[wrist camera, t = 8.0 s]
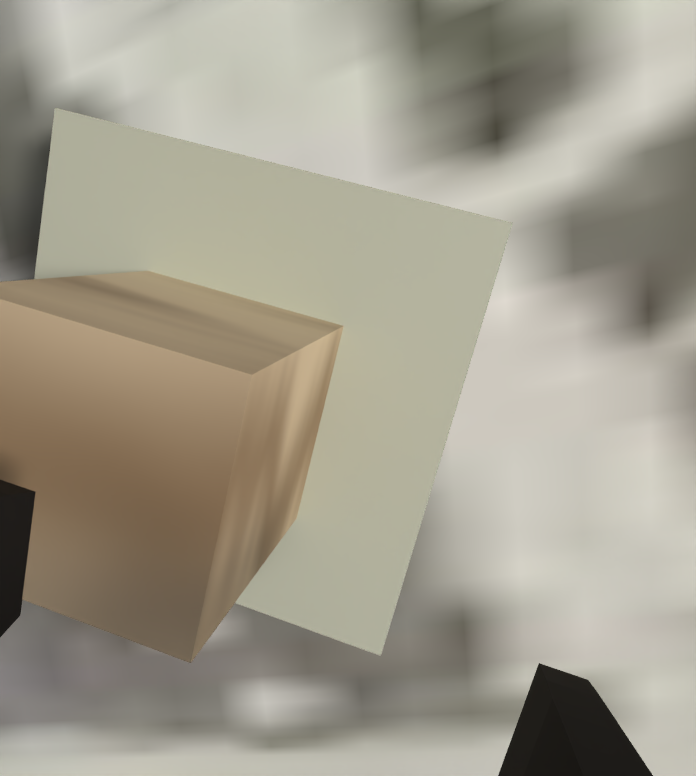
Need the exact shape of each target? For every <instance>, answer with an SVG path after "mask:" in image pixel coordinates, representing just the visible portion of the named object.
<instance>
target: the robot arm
mask: <svg viewBox="0 0 696 776" xmlns="http://www.w3.org/2000/svg"><path fill="white" fill-rule="evenodd" d="M35 493H36V492H35V491H32V490H29V489H27V488H24V487H21V486H18V485H15V484H12V483H9V482H6V481H3V480H0V637H1V636H2V635H3V634H4V632H5V631H6V630H7V629H8V628H9V627H10V626H11V625H12V624H13V623H14V622H15V620H16V619H17V618H18V617H19V616H20V613H21V605H22V597H23V589H24V581H25V573H26V565H27V557H28V549H29V541H30V533H31V525H32V517H33V509H34V501H35ZM498 776H653V775H652V773H651V772H650V771H649V769H648V768H647V766H646V765H645V763H644V762H643V760H642V759H641V757H640V756H639V754H638V753H637V751H636V750H635V748H634V747H633V745H632V744H631V742H630V741H629V739H628V738H627V736H626V735H625V733H624V732H623V730H622V729H621V727H620V726H619V724H618V723H617V721H616V720H615V718H614V717H613V715H612V714H611V712H610V711H609V709H608V708H607V706H606V705H605V703H604V702H603V700H602V699H601V697H600V696H599V694H598V693H597V691H596V690H595V689H594V687H593V686H592V685H591V683H590V682H589V681H588V680H586V679H584V678H581V677H578V676H575V675H572V674H569V673H566V672H563V671H560V670H557V669H554V668H551V667H548V666H545V665H542V664H540V663H539V665H538V668H537V670H536V673H535V676H534V679H533V681H532V684H531V687H530V690H529V692H528V695H527V698H526V701H525V703H524V706H523V709H522V712H521V715H520V717H519V720H518V723H517V726H516V728H515V731H514V734H513V737H512V739H511V742H510V745H509V748H508V750H507V753H506V756H505V759H504V761H503V764H502V767H501V770H500V772H499V775H498Z"/></svg>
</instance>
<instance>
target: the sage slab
mask: <svg viewBox="0 0 696 776" xmlns="http://www.w3.org/2000/svg"><path fill="white" fill-rule="evenodd" d="M511 227H512V223H511V222H507V221H503V220H499V219H495V218H491V217H487V216H483V215H479V214H475V213H471V212H467V211H463V210H459V209H455V208H451V207H447V206H443V205H439V204H435V203H431V202H427V201H423V200H419V199H415V198H411V197H407V196H403V195H399V194H395V193H391V192H387V191H383V190H379V189H376V188H372V187H368V186H364V185H360V184H356V183H352V182H348V181H344V180H340V179H336V178H332V177H328V176H324V175H320V174H316V173H312V172H308V171H304V170H300V169H296V168H292V167H288V166H284V165H280V164H276V163H272V162H268V161H264V160H260V159H256V158H252V157H248V156H244V155H240V154H236V153H232V152H228V151H224V150H220V149H217V148H213V147H209V146H205V145H201V144H197V143H193V142H189V141H185V140H181V139H177V138H173V137H169V136H165V135H161V134H157V133H153V132H149V131H145V130H141V129H137V128H133V127H129V126H125V125H121V124H117V123H113V122H109V121H105V120H101V119H97V118H93V117H89V116H85V115H81V114H77V113H73V112H69V111H65V110H61V109H58V108H55V113H54V121H53V129H52V137H51V145H50V154H49V162H48V170H47V178H46V186H45V194H44V203H43V211H42V219H41V227H40V235H39V243H38V252H37V260H36V268H35V276H34V279H45V278H58V277H71V276H85V275H98V274H111V273H125V272H138V271H151V272H154V273H158V274H161V275H165V276H169V277H172V278H176V279H179V280H183V281H186V282H190V283H193V284H197V285H200V286H204V287H207V288H211V289H215V290H218V291H222V292H225V293H229V294H232V295H236V296H239V297H243V298H246V299H250V300H254V301H257V302H261V303H264V304H268V305H271V306H275V307H278V308H282V309H285V310H289V311H293V312H296V313H300V314H303V315H307V316H310V317H314V318H317V319H321V320H324V321H328V322H332V323H335V324H339V325H342V326H344V327H343V331H342V335H341V339H340V343H339V347H338V351H337V355H336V360H335V364H334V368H333V372H332V376H331V380H330V384H329V388H328V392H327V396H326V400H325V404H324V409H323V413H322V417H321V421H320V425H319V429H318V433H317V437H316V441H315V445H314V449H313V453H312V457H311V462H310V466H309V470H308V474H307V478H306V482H305V486H304V490H303V494H302V498H301V502H300V506H299V510H298V515H297V518H296V520H295V521H294V523H293V524H292V525H291V527H290V528H289V529H288V531H287V532H286V534H285V535H284V536H283V538H282V539H281V540H280V542H279V543H278V544H277V546H276V547H275V549H274V550H273V551H272V553H271V554H270V555H269V557H268V558H267V560H266V561H265V562H264V564H263V565H262V566H261V568H260V569H259V570H258V572H257V573H256V575H255V576H254V577H253V579H252V580H251V581H250V583H249V584H248V586H247V587H246V588H245V590H244V591H243V592H242V594H241V595H240V596H239V598H238V599H237V601H236V602H235V603H237V604H239V605H242V606H245V607H248V608H250V609H253V610H256V611H259V612H261V613H264V614H267V615H270V616H273V617H275V618H278V619H281V620H284V621H286V622H289V623H292V624H295V625H297V626H300V627H303V628H306V629H308V630H311V631H314V632H317V633H319V634H322V635H325V636H328V637H330V638H333V639H336V640H339V641H341V642H344V643H347V644H350V645H353V646H355V647H358V648H361V649H364V650H366V651H369V652H372V653H375V654H377V655H380V656H381V653H382V650H383V647H384V643H385V640H386V637H387V634H388V630H389V627H390V624H391V620H392V617H393V614H394V611H395V607H396V604H397V601H398V597H399V594H400V591H401V588H402V584H403V581H404V578H405V574H406V571H407V568H408V565H409V561H410V558H411V555H412V552H413V548H414V545H415V542H416V538H417V535H418V532H419V529H420V525H421V522H422V519H423V515H424V512H425V509H426V506H427V502H428V499H429V496H430V492H431V489H432V486H433V483H434V479H435V476H436V473H437V469H438V466H439V463H440V460H441V456H442V453H443V450H444V446H445V443H446V440H447V437H448V433H449V430H450V427H451V424H452V420H453V417H454V414H455V410H456V407H457V404H458V401H459V397H460V394H461V391H462V387H463V384H464V381H465V378H466V374H467V371H468V368H469V364H470V361H471V358H472V355H473V351H474V348H475V345H476V341H477V338H478V335H479V332H480V328H481V325H482V322H483V318H484V315H485V312H486V309H487V305H488V302H489V299H490V296H491V292H492V289H493V286H494V282H495V279H496V276H497V273H498V269H499V266H500V263H501V259H502V256H503V253H504V250H505V246H506V243H507V240H508V236H509V233H510V230H511Z"/></svg>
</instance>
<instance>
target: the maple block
mask: <svg viewBox="0 0 696 776" xmlns="http://www.w3.org/2000/svg"><path fill="white" fill-rule="evenodd" d="M343 327H344V326H342V325H339V324H335V323H332V322H328V321H324V320H321V319H317V318H314V317H310V316H307V315H303V314H300V313H296V312H293V311H289V310H285V309H282V308H278V307H275V306H271V305H268V304H264V303H261V302H257V301H254V300H250V299H246V298H243V297H239V296H236V295H232V294H229V293H225V292H222V291H218V290H215V289H211V288H207V287H204V286H200V285H197V284H193V283H190V282H186V281H183V280H179V279H176V278H172V277H169V276H165V275H161V274H158V273H154V272H151V271H138V272H125V273H111V274H98V275H85V276H71V277H58V278H45V279H32V280H18V281H5V282H0V480H3V481H6V482H9V483H12V484H15V485H18V486H21V487H24V488H27V489H29V490H32V491H35V492H36V493H35V501H34V509H33V517H32V525H31V533H30V541H29V549H28V557H27V565H26V573H25V581H24V589H23V597H22V600H25V601H28V602H30V603H33V604H35V605H38V606H41V607H43V608H46V609H49V610H51V611H54V612H57V613H59V614H62V615H65V616H67V617H70V618H73V619H75V620H78V621H80V622H83V623H86V624H88V625H91V626H94V627H96V628H99V629H102V630H104V631H107V632H110V633H112V634H115V635H118V636H120V637H123V638H126V639H128V640H131V641H133V642H136V643H139V644H141V645H144V646H147V647H149V648H152V649H155V650H157V651H160V652H163V653H165V654H168V655H171V656H173V657H176V658H178V659H181V660H184V661H186V662H189V663H191V662H192V661H193V659H194V658H195V657H196V655H197V654H198V653H199V651H200V650H201V648H202V647H203V646H204V644H205V643H206V642H207V640H208V639H209V637H210V636H211V635H212V633H213V632H214V631H215V629H216V628H217V627H218V625H219V624H220V622H221V621H222V620H223V618H224V617H225V616H226V614H227V613H228V611H229V610H230V609H231V607H232V606H233V605H234V603H235V602H236V601H237V599H238V598H239V596H240V595H241V594H242V592H243V591H244V590H245V588H246V587H247V586H248V584H249V583H250V581H251V580H252V579H253V577H254V576H255V575H256V573H257V572H258V570H259V569H260V568H261V566H262V565H263V564H264V562H265V561H266V560H267V558H268V557H269V555H270V554H271V553H272V551H273V550H274V549H275V547H276V546H277V544H278V543H279V542H280V540H281V539H282V538H283V536H284V535H285V534H286V532H287V531H288V529H289V528H290V527H291V525H292V524H293V523H294V521H295V520H296V518H297V515H298V510H299V506H300V502H301V498H302V494H303V490H304V486H305V482H306V478H307V474H308V470H309V466H310V462H311V457H312V453H313V449H314V445H315V441H316V437H317V433H318V429H319V425H320V421H321V417H322V413H323V409H324V404H325V400H326V396H327V392H328V388H329V384H330V380H331V376H332V372H333V368H334V364H335V360H336V355H337V351H338V347H339V343H340V339H341V335H342V331H343Z"/></svg>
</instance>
